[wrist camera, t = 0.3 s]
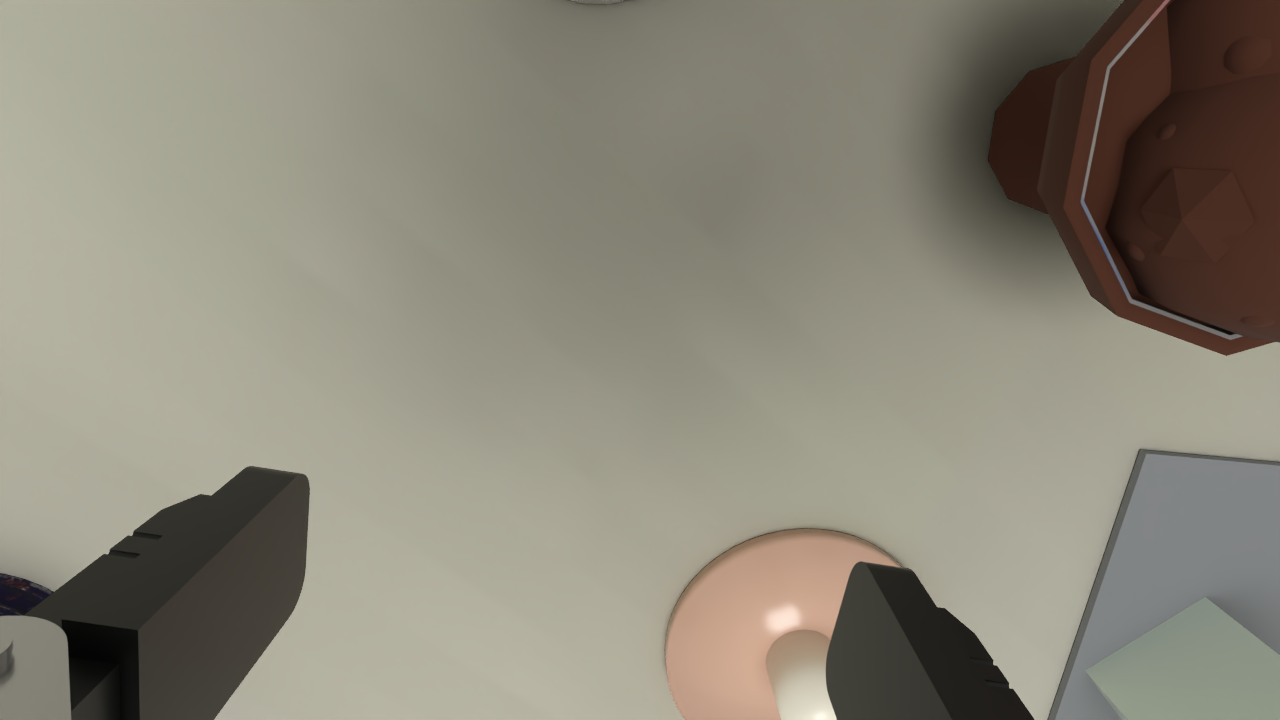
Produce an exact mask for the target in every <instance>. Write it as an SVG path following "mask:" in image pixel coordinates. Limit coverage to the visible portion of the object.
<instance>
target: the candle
mask: <svg viewBox="0 0 1280 720" xmlns="http://www.w3.org/2000/svg"><path fill="white" fill-rule="evenodd" d="M830 641H831V640H830V639H829V638H828V637H827V636H825V635H824V634H822V633H820V632H817V631H813V630H796V631H792V632H789V633H787V634H785V635H783V636H781V637H780V638H779V639H777V640H776V641H775V642H774V643H773V644H772V646H771V647H770V649H769V650H768V653H767V656H766V669H767V673H768V676H769V680H770V683H771V687H772V690H773V693H774V697H775V700H776V704H777V707H778V711H779V714H780V718H781V720H837V718H836V715H835V713H834V710H833V707H832V704H831V701H830V698H829V695H828V691H827V685H826V658H827V652H828V648H829V644H830Z"/></svg>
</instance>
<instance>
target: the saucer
mask: <svg viewBox="0 0 1280 720" xmlns="http://www.w3.org/2000/svg"><path fill="white" fill-rule="evenodd" d="M860 561H862V562H869V563H875V564H882V565H888V566H895V567H901V566H900V565H899V564H898V562H897V561H896V560H894V559H893V558H892V557H891V556H889V555H888V554H887V553H886V552H884V551H883V550H881V549H880V548H878V547H876V546H874V545H873V544H871V543H869V542H867V541H865V540H862V539H860V538H857V537H855V536H852V535H848V534H844V533H841V532H837V531H830V530H823V529H794V530H784V531H779V532H775V533H770V534H766V535H763V536H760V537H757V538H754V539H751V540H748V541H746V542H744V543H742V544H739V545H737V546H735V547H733V548H731V549H730V550H728V551H727V552H725V553H723V554H722V555H720V556H718V557H717V558H716V559H715V560H713V561H712V562H711V563H710V564H708V565H707V566H706V567H705V568H703V569H702V570H701V572H700V573H699V574H698V575H697V576H696V577H695V578H694V579H693V580H692V581H691V582H690V584H689V585H688V586H687V588H686V589H685V590H684V592H683V593H682V595H681V597H680V598H679V600H678V602H677V604H676V606H675V607H674V610H673V613H672V615H671V618H670V620H669V624H668V629H667V633H666V642H665V656H666V667H667V677H668V683H669V687H670V691H671V694H672V697H673V699H674V701H675V704H676V706H677V708H678V710H679V711H680V713H681V714H682V716H683V718H684V719H685V720H781V718H780V714H779V711H778V707H777V704H776V700H775V697H774V693H773V690H772V687H771V683H770V680H769V676H768V673H767V669H766V656H767V653H768V650H769V649H770V647H771V646H772V644H773V643H774V642H775V641H776V640H777V639H779V638H780V637H781V636H783V635H785V634H787V633H789V632H792V631H796V630H813V631H817V632H820V633H822V634H824V635H825V636H827V637H828V638H829V639H830V640H831V637H832V634H833V630H834V627H835V623H836V620H837V617H838V613H839V610H840V606H841V603H842V599H843V596H844V592H845V589H846V586H847V582H848V579H849V576H850V573H851V570H852V568H853V567H854V565H855V564H856V563H858V562H860ZM901 568H902V567H901Z"/></svg>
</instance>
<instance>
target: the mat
mask: <svg viewBox="0 0 1280 720" xmlns="http://www.w3.org/2000/svg"><path fill="white" fill-rule="evenodd" d="M1204 597H1206V598H1207V599H1209V600H1210V601H1211V602H1212V603H1214V604H1215V605H1216V606H1218V607H1219V608H1220V609H1221V610H1223V611H1224V612H1225V613H1227V614H1228V615H1229V616H1230V617H1232V618H1233V619H1234V620H1235V621H1237V622H1238V623H1239V624H1241V625H1242V626H1243V627H1244V628H1246V629H1247V630H1248V631H1249V632H1251V633H1252V634H1253V635H1255V636H1256V637H1257V638H1258V639H1260V640H1261V641H1262V642H1263V643H1265V644H1266V645H1267V646H1269V647H1270V648H1271V649H1272V650H1274V651H1275V652H1276V653H1277V654H1279V655H1280V462H1270V461H1259V460H1248V459H1237V458H1226V457H1215V456H1204V455H1193V454H1183V453H1172V452H1161V451H1150V450H1140V451H1139V454H1138V457H1137V460H1136V463H1135V466H1134V468H1133V471H1132V474H1131V477H1130V480H1129V483H1128V486H1127V489H1126V492H1125V495H1124V498H1123V501H1122V504H1121V507H1120V510H1119V513H1118V516H1117V518H1116V521H1115V524H1114V527H1113V530H1112V533H1111V536H1110V539H1109V542H1108V545H1107V548H1106V551H1105V554H1104V557H1103V560H1102V563H1101V565H1100V568H1099V571H1098V574H1097V577H1096V580H1095V583H1094V586H1093V589H1092V592H1091V595H1090V598H1089V601H1088V604H1087V607H1086V610H1085V613H1084V615H1083V618H1082V621H1081V624H1080V627H1079V630H1078V633H1077V636H1076V639H1075V642H1074V645H1073V648H1072V651H1071V654H1070V657H1069V660H1068V663H1067V665H1066V668H1065V671H1064V674H1063V677H1062V680H1061V683H1060V686H1059V689H1058V692H1057V695H1056V698H1055V701H1054V704H1053V707H1052V710H1051V712H1050V715H1049V718H1048V720H1121V719H1120V717H1119V716H1118V715H1117V713H1116V712H1115V711H1114V709H1113V708H1112V707H1111V705H1110V704H1109V703H1108V701H1107V700H1106V699H1105V697H1104V696H1103V694H1102V693H1101V692H1100V690H1099V689H1098V688H1097V686H1096V685H1095V684H1094V682H1093V681H1092V680H1091V678H1090V677H1089V676H1088V674H1087V673H1086V672H1085V670H1087V669H1088V668H1090V667H1092V666H1093V665H1095V664H1097V663H1098V662H1100V661H1101V660H1103V659H1105V658H1106V657H1108V656H1110V655H1111V654H1113V653H1114V652H1116V651H1118V650H1119V649H1121V648H1123V647H1124V646H1126V645H1128V644H1129V643H1131V642H1132V641H1134V640H1136V639H1137V638H1139V637H1141V636H1142V635H1144V634H1145V633H1147V632H1149V631H1150V630H1152V629H1154V628H1155V627H1157V626H1159V625H1160V624H1162V623H1163V622H1165V621H1167V620H1168V619H1170V618H1172V617H1173V616H1175V615H1177V614H1178V613H1180V612H1181V611H1183V610H1185V609H1186V608H1188V607H1190V606H1191V605H1193V604H1194V603H1196V602H1198V601H1199V600H1201V599H1203V598H1204Z"/></svg>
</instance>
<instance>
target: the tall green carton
mask: <svg viewBox="0 0 1280 720" xmlns="http://www.w3.org/2000/svg"><path fill="white" fill-rule="evenodd" d="M1085 672H1086V673H1087V674H1088V676H1089V677H1090V678H1091V680H1092V681H1093V682H1094V684H1095V685H1096V686H1097V688H1098V689H1099V690H1100V692H1101V693H1102V694H1103V696H1104V697H1105V699H1106V700H1107V701H1108V703H1109V704H1110V705H1111V707H1112V708H1113V709H1114V711H1115V712H1116V713H1117V715H1118V716H1119V717H1120V719H1121V720H1280V655H1279V654H1277V653H1276V652H1275V651H1274V650H1272V649H1271V648H1270V647H1269V646H1267V645H1266V644H1265V643H1263V642H1262V641H1261V640H1260V639H1258V638H1257V637H1256V636H1255V635H1253V634H1252V633H1251V632H1249V631H1248V630H1247V629H1246V628H1244V627H1243V626H1242V625H1241V624H1239V623H1238V622H1237V621H1235V620H1234V619H1233V618H1232V617H1230V616H1229V615H1228V614H1227V613H1225V612H1224V611H1223V610H1221V609H1220V608H1219V607H1218V606H1216V605H1215V604H1214V603H1212V602H1211V601H1210V600H1209V599H1207V598H1206V597H1204V598H1203V599H1201V600H1199V601H1198V602H1196V603H1194V604H1193V605H1191V606H1190V607H1188V608H1186V609H1185V610H1183V611H1181V612H1180V613H1178V614H1177V615H1175V616H1173V617H1172V618H1170V619H1168V620H1167V621H1165V622H1163V623H1162V624H1160V625H1159V626H1157V627H1155V628H1154V629H1152V630H1150V631H1149V632H1147V633H1145V634H1144V635H1142V636H1141V637H1139V638H1137V639H1136V640H1134V641H1132V642H1131V643H1129V644H1128V645H1126V646H1124V647H1123V648H1121V649H1119V650H1118V651H1116V652H1114V653H1113V654H1111V655H1110V656H1108V657H1106V658H1105V659H1103V660H1101V661H1100V662H1098V663H1097V664H1095V665H1093V666H1092V667H1090V668H1088V669H1087V670H1085Z"/></svg>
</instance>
